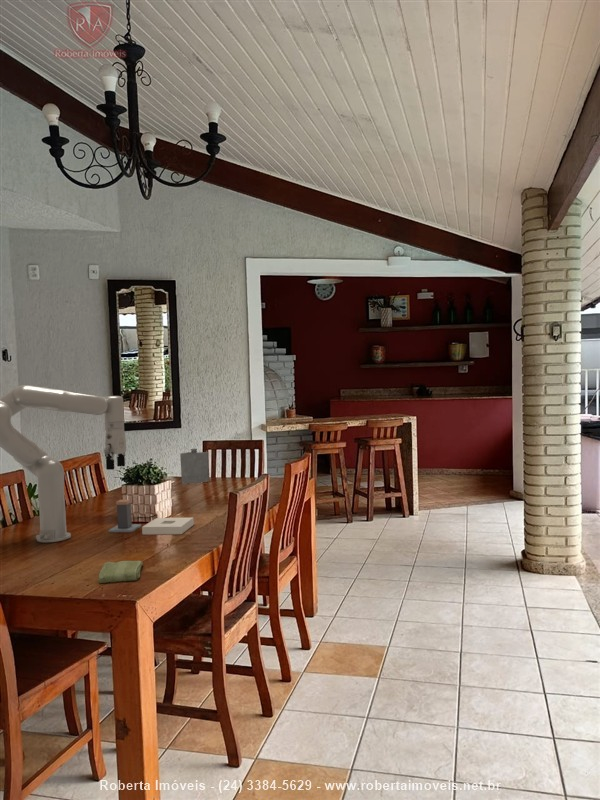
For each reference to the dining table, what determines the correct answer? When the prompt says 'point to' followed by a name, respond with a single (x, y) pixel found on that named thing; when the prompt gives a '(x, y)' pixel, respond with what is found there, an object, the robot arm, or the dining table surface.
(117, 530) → the mat
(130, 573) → the washcloth
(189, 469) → the hip flask
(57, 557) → the dining table surface
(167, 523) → the white square slab
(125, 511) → the plug
